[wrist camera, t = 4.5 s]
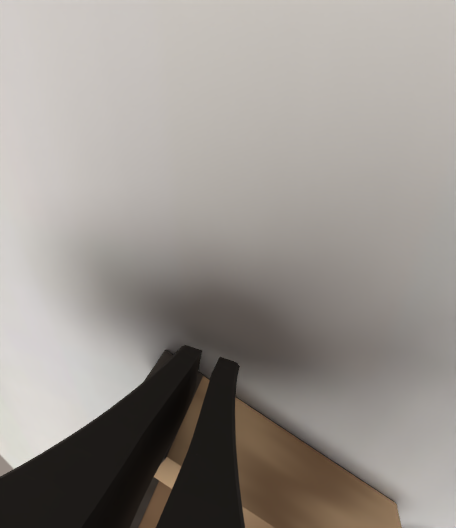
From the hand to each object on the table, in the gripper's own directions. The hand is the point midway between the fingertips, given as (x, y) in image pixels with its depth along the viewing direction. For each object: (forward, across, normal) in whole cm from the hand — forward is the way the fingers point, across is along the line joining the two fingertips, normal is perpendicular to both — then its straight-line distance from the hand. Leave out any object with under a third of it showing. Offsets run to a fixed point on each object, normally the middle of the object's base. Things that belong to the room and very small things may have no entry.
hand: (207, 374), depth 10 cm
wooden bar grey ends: (+2, -3, +4) cm, 6 cm away
